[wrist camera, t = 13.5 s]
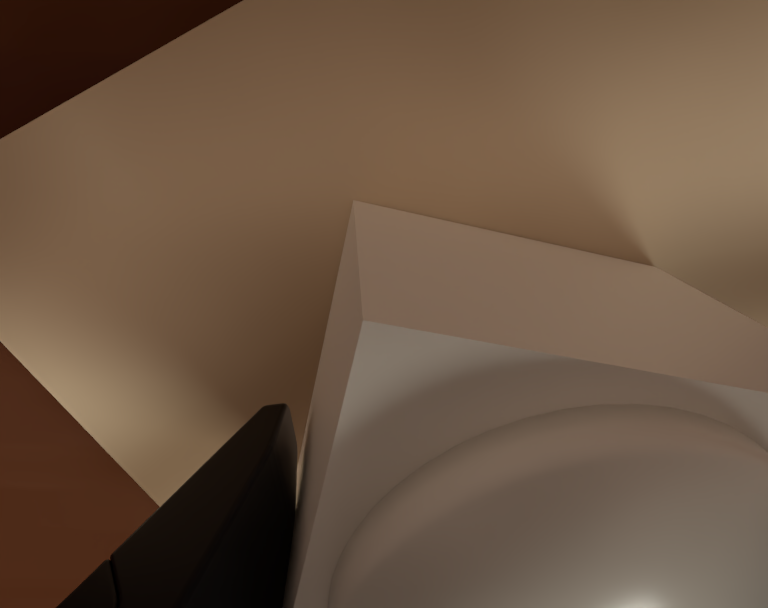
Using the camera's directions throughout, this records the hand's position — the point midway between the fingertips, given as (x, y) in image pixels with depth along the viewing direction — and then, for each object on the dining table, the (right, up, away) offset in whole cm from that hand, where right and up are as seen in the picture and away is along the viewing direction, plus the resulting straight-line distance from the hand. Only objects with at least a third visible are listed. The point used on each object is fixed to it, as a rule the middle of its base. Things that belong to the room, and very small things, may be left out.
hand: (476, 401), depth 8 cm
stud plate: (0, +1, +2) cm, 2 cm away
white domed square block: (0, 0, +1) cm, 1 cm away
